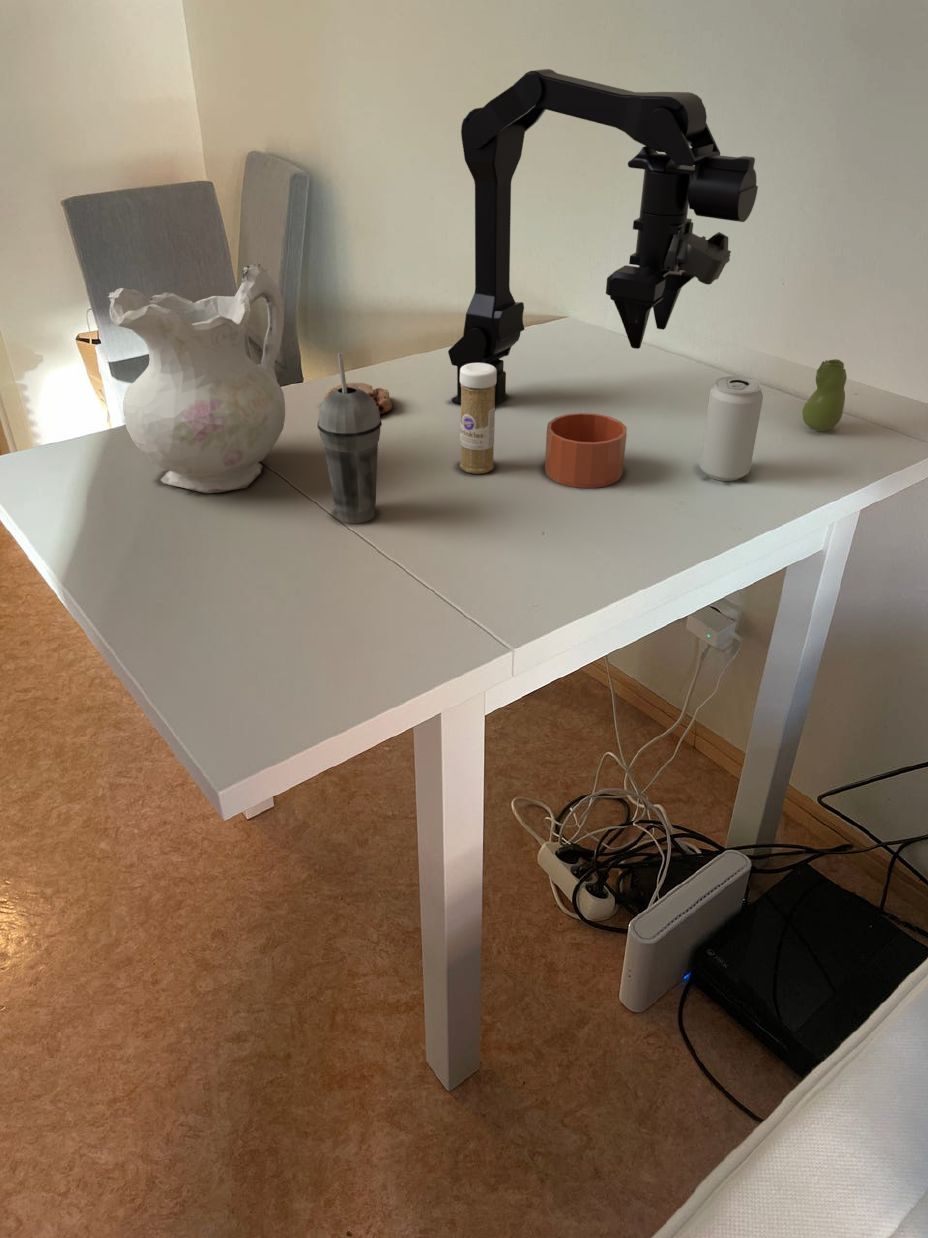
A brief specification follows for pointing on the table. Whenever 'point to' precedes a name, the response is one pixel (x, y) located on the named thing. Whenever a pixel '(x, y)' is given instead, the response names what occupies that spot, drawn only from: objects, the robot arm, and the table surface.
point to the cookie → (371, 395)
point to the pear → (826, 397)
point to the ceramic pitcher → (204, 384)
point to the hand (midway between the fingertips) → (648, 338)
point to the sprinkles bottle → (477, 417)
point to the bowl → (585, 450)
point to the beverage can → (731, 428)
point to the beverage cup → (351, 449)
